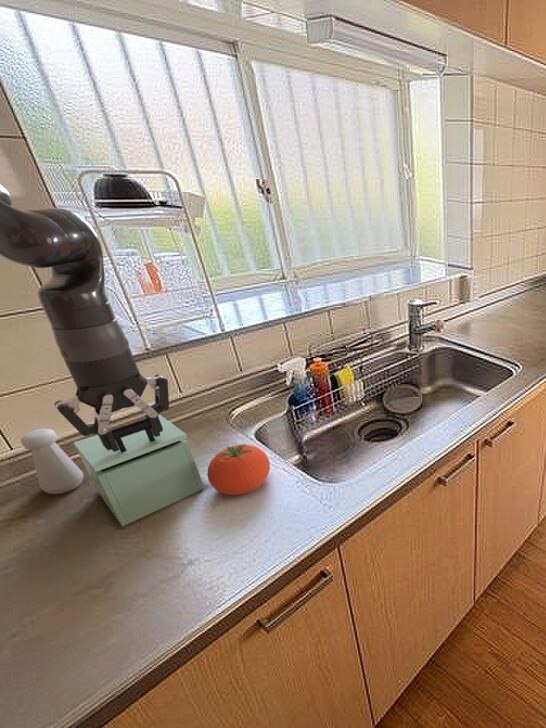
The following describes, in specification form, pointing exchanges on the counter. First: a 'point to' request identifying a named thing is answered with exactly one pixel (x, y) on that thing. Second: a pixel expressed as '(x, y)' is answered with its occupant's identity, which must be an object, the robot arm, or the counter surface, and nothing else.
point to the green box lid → (128, 443)
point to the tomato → (238, 469)
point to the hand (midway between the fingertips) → (135, 441)
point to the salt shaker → (51, 462)
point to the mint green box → (147, 481)
